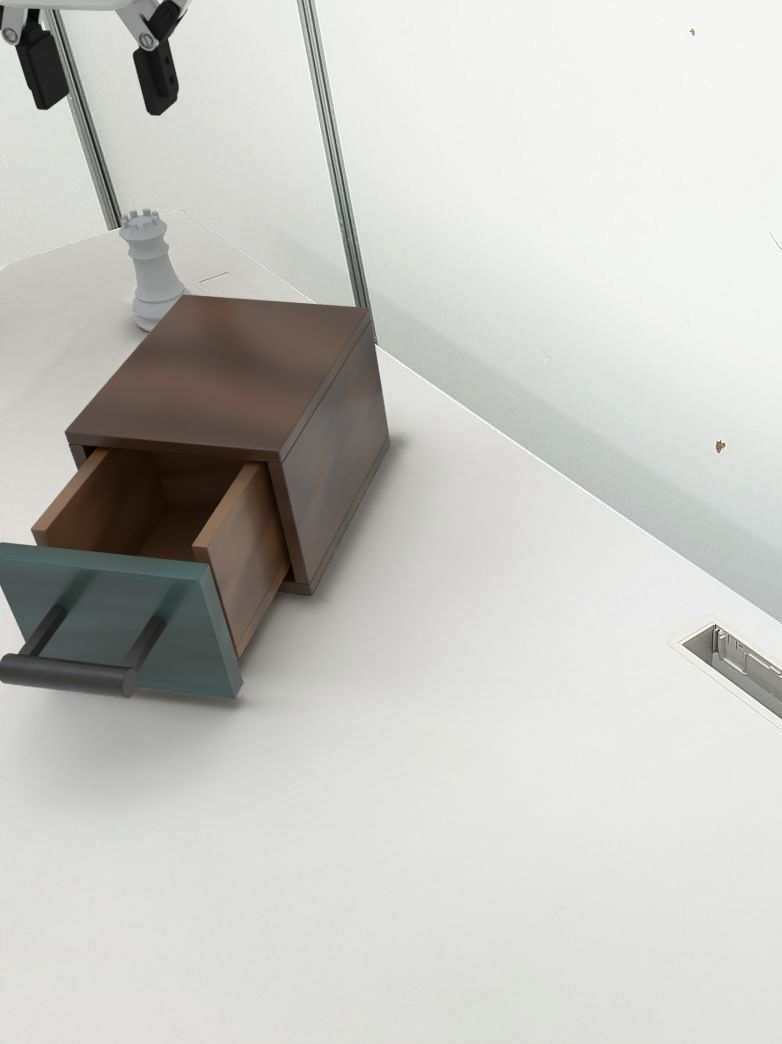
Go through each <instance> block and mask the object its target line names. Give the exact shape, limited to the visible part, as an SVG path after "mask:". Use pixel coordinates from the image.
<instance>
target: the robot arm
mask: <svg viewBox="0 0 782 1044" xmlns="http://www.w3.org/2000/svg"><path fill="white" fill-rule="evenodd" d="M192 2H193V0H162V1H161V3H160V2H159V1H158V0H0V34H1V37H2V39H3V40H4V42H5V43H6V44H8V45H9V46H14V47H15V48H14V49H15V52H16V54H17V58H18V61H19V64H20V67H21V71H22V74H23V76H24V79H25V82H26V83H25V84H26V85H27V88H28V89H29V91H30V92H31V95H32V98H33V101H34V102H33V103H34V104H35V107H36V109H37V110H39V111H49V110H50V109H51V108H53V107H54V106H55V105H57V104H58V103H59V102H60V101H61V100H63V99H64V98H66V97H67V96H69V95H70V86H69V83H68V80H67V77H66V73H65V70H64V66H63V63H62V60H61V56H60V53H59V50H58V46H57V44H56V43H57V42H56V39H55V36H54V35H53V34H52V31H51V30H48V29H46V30H45V29H43V26H42V25H43V19H44V12H45V10H62V11H86V12H87V11H89V12H90V11H93V12H109V11H110V12H111V11H112V12H113V11H114V12H115V14H117V15H118V17H119V18H120V20H121V21H122V23H123V24H124V26H125V27H126V29H127V30H128V32H129V34H131V36H132V37H133V38H134V40H135V42H136V43H137V44H138V48H137V49H135V50H134V51H133V52H132V60H133V64H134V67H135V71H136V76H137V80H138V83H139V87H140V91H141V95H142V100H143V102H144V107H145V110H146V112H147V114H149V115H150V116H155V117H160V116H162V115H163V114H164V113H165V112H166V111H167V110H168V109H169V108H170V107H172V105H174V104H175V103H177V101H178V94H179V91H180V85H179V83H180V82H179V79H178V75H177V71H176V66H175V62H174V57H173V54H172V49H171V45H170V41H169V39H170V37H171V36H173V35H174V33H175V30H176V28H177V27H178V25H179V24H180V23H181V21H182V19H183V18H184V17H185V15H186V14H187V12H188V8H189V6H190V5H191V3H192Z"/></svg>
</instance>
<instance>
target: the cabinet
mask: <svg viewBox="0 0 782 1044" xmlns="http://www.w3.org/2000/svg"><path fill="white" fill-rule="evenodd" d="M371 319H372V317H371V311H370V308H369V307H364V306H351V305H350V306H349V305H338V304H337V305H335V304H321V303H311V302H309V303H308V302H296V301H295V302H294V301H281V300H268V299H267V300H266V299H252V298H241V297H240V298H239V297H223V296H213V295H211V296H210V295H199V294H198V295H197V294H192V295H185V294H184V295H182V296H181V297H180V298H179V299H178V300H177V302H176V303H175V304H174V305H173V306H172V307H171V309H170V310H169V311H168V312H167V313H166V314H165V316H164V317H163V318H162V319H161V320H160V321H159V322H158V324H157V325H156V326H155V327H154V328H153V329H152V331H151V332H148V334H147V335H146V336H145V338H144V339H143V340H142V341H140V343H139V344H138V345H137V346H136V347H135V349H134V350H133V351H132V352H131V353H130V355H128V357H127V358H126V360H124V361H123V363H122V364H121V365H120V366H119V367H118V368H117V369H116V371H115V372H114V373H113V374H112V376H111V377H110V378H109V379H108V380H107V381H106V383H104V385H103V386H102V387H101V388H100V390H99V391H98V392H96V394H95V395H94V397H92V399H91V400H90V401H89V402H88V403H87V404H86V406H84V408H83V409H82V410H81V411H80V413H78V415H77V416H76V417H75V419H74V420H73V421H72V422H71V423H70V424H69V425H68V426H67V428H65V430H64V436H65V439H66V441H67V443H68V448H69V450H70V453H71V456H72V459H73V461H74V464H75V467H76V469H77V471H78V470H79V469H80V468H81V466H82V465H83V464H84V463H85V462H86V460H87V459H88V458H89V457H90V455H91V454H92V453H93V452H94V451H95V449H96V448H97V447H98V446H99V447H110V448H121V449H132V450H142V451H153V452H164V453H175V454H186V455H197V456H208V457H219V458H230V459H241V460H252V461H263V462H268V467H269V471H270V476H271V480H272V484H273V488H274V492H275V497H276V501H277V505H278V509H279V514H280V518H281V522H282V526H283V530H284V535H285V539H286V543H287V547H288V551H289V556H290V560H291V564H292V565H291V567H290V568H289V570H288V572H287V574H286V576H285V577H284V579H283V581H282V583H281V585H280V586H279V588H278V590H277V592H280V593H291V594H299V595H310V596H311V595H313V593H314V591H315V589H316V587H317V585H318V583H319V582H320V580H321V578H322V576H323V574H324V572H325V570H326V569H327V567H328V564H329V563H330V561H331V558H332V557H333V555H334V553H335V551H336V549H337V548H338V545H339V544H340V542H341V540H342V538H343V535H344V534H345V532H346V530H347V529H348V526H349V524H350V522H351V520H352V519H353V516H354V515H355V513H356V511H357V509H358V507H359V505H360V503H361V501H362V499H363V498H364V496H365V493H366V492H367V490H368V488H369V486H370V484H371V482H372V480H373V479H374V476H375V474H376V472H377V470H378V469H379V467H380V465H381V463H382V461H383V459H384V457H385V456H386V453H387V451H388V450H389V448H390V446H391V439H390V431H389V424H388V419H387V412H386V411H387V410H386V406H385V399H384V393H383V386H382V380H381V374H380V367H379V362H378V353H377V348H376V342H375V341H376V340H375V336H374V329H373V323H372V320H371Z"/></svg>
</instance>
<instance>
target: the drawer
mask: <svg viewBox="0 0 782 1044" xmlns="http://www.w3.org/2000/svg"><path fill="white" fill-rule="evenodd" d="M30 531H31V535H32V536H33V539H34V542H35V545H34V544H33V545H32V544H25V543H24V544H23V543H13V542H6V541H1V542H0V588H1V591H2V593H3V596H4V597H5V600H6V602H7V604H8V606H9V608H10V611H11V614H12V615H13V618H14V620H15V622H16V625H17V627H18V629H19V632H20V634H21V635H22V638H23V640H24V642H25V643H24V644H23V645H22V647H21V648H20V650H19V651H17V653H14V652H8V653H6V654H4V655H3V656H2V657H1V658H0V683H2V684H5V685H12V686H20V687H28V688H36V689H43V690H53V691H60V692H68V693H69V692H70V693H78V694H84V695H86V694H87V695H94V696H102V697H110V698H118V699H126V700H127V699H128V700H129V699H131V698H132V697H133V696H134V695H135V693H136V692H137V689H144V690H153V691H159V692H160V691H161V692H169V693H177V694H186V695H193V696H194V695H195V696H200V697H201V696H203V697H211V698H220V699H227V700H236V698H237V697H238V694H239V693H240V690H241V689H242V687H243V685H244V679H243V676H242V672H241V669H240V665H239V662H238V659H241V657H242V655H243V653H244V652H245V650H246V648H247V646H248V644H249V643H250V640H251V639H252V637H253V635H254V634H255V632H256V629H257V628H258V626H259V624H260V623H261V622H262V619H263V617H264V616H265V613H266V612H267V610H268V608H269V606H270V604H271V603H272V601H273V599H274V597H275V595H276V594H277V592H278V591H277V590H278V588H279V586H280V585H281V583H282V581H283V579H284V577H285V576H286V574H287V572H288V570H289V568H290V567H291V565H292V564H291V560H290V556H289V551H288V547H287V543H286V539H285V535H284V530H283V526H282V522H281V518H280V514H279V509H278V505H277V501H276V497H275V492H274V488H273V484H272V480H271V476H270V471H269V467H268V462H263V461H252V460H241V459H230V458H219V457H208V456H197V455H186V454H175V453H164V452H153V451H142V450H132V449H121V448H110V447H99V446H98V447H97V448H96V449H95V451H94V452H93V453H92V454H91V455H90V457H89V458H88V459H87V460H86V462H85V463H84V464H83V465H82V466H81V468H80V469H79V470H77V471H76V472H75V474H74V475H73V476H72V477H71V478H70V480H69V481H68V482H67V483H66V485H65V486H64V487H63V488H62V489H61V491H59V493H58V494H57V496H56V497H55V498H54V499H53V501H52V502H51V503H50V504H49V505H48V507H47V508H46V509H45V510H44V512H43V513H42V514H41V515H40V517H39V518H38V519H37V520H36V522H34V524H33V525H32V526H31V528H30Z"/></svg>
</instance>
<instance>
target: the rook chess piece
mask: <svg viewBox="0 0 782 1044" xmlns="http://www.w3.org/2000/svg"><path fill="white" fill-rule="evenodd" d="M128 213H129V216H128V214H127V213H126V214H124V213H123V214H122V215H121V216H120V219H121V220H120V224H121V226H120V228H119V230H118V236H119V237H121V239H123V240H124V241H125V242H126V243H127V244H128V246H129V248H128V250H127V255H128V256H129V257H130V258H131V259H132V262H133V266H134V270H135V278H136V289H135V290H134V296H135V297H134V298H133V300H132V312H134V314H135V317H134V322H135V323H136V325H138V327H139V328H141V329H142V330H144V332H148V333H150V332H151V331H152V329H153V328H154V327H155V326H156V325H157V324H158V322H159V321H160V320H161V319H162V318H163V317H164V316H165V314H166V313H167V312H168V311H169V310H170V309H171V307H172V306H173V305H174V304H175V303H176V302H177V300H178V299H179V298H180V297H181V296H182V295H184V294H185V295H193V294H192V292H191V291H190V290H189V289H188V288H186V287H185V284H184V283H183V282H182V281H181V280H180V279H179V277H178V276H177V274H176V271H175V269H174V266H173V264H172V262H171V260H170V255H169V250H170V245H169V244H168V243H167V242H166V241H165V240H164V236H165V234H166V232H167V230H168V224H166V222H164V220H162V219H161V218H160V215H159V212H158V211H157V210H152V211H151V208H142V214H140V215H139V214H138V211H137V209H132V210H129V211H128ZM129 217H130V218H129Z"/></svg>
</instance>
